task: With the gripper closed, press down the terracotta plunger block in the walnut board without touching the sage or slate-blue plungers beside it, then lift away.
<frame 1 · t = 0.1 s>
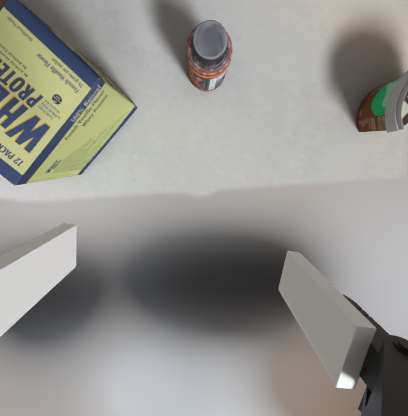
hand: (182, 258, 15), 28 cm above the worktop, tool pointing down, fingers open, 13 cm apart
protein box: (85, 119, 39), on the worktop
supplement bottle: (206, 72, 38), on the worktop
food container: (377, 100, 39), on the worktop
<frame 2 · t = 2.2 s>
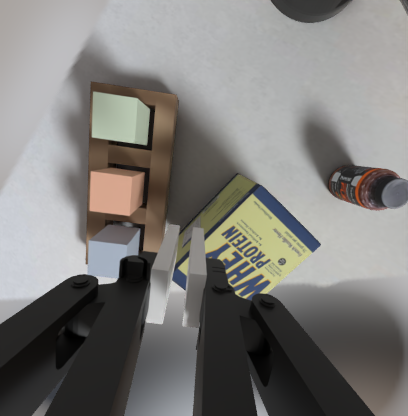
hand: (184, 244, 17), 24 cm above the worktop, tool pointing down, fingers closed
walnut board: (134, 182, 40), on the worktop
protein box: (227, 222, 42), on the worktop
supplement bottle: (343, 182, 41), on the worktop
plunger terracotta: (119, 189, 32), point 8 cm above the worktop, slide at 0.0 cm
plunger slate: (116, 249, 34), point 8 cm above the worktop, slide at 0.0 cm
plunger sage: (123, 122, 30), point 8 cm above the worktop, slide at 0.0 cm
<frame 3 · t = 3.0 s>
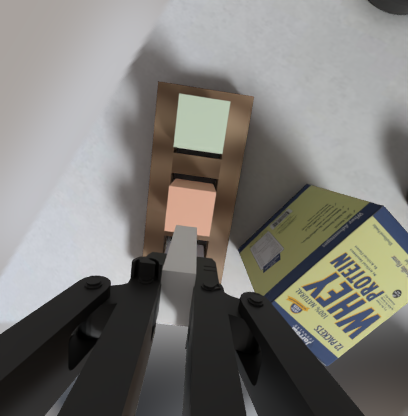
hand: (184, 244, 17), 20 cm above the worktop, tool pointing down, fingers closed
walnut board: (192, 193, 36), on the worktop
protein box: (291, 237, 38), on the worktop
plunger terracotta: (191, 204, 29), point 8 cm above the worktop, slide at 0.0 cm
plunger slate: (182, 271, 31), point 8 cm above the worktop, slide at 0.0 cm
plunger sage: (201, 128, 27), point 8 cm above the worktop, slide at 0.0 cm
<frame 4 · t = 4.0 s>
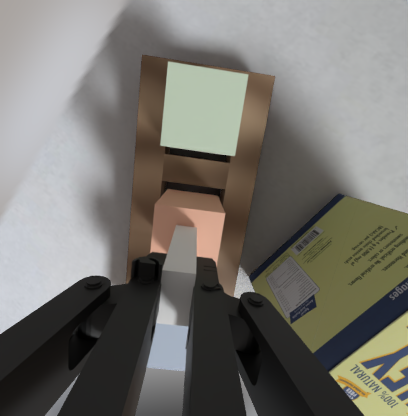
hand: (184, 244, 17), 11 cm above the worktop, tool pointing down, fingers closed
walnut board: (191, 206, 28), on the worktop
protein box: (317, 261, 30), on the worktop
plunger terracotta: (188, 227, 20), point 8 cm above the worktop, slide at 0.0 cm, touching gripper
plunger slate: (176, 315, 22), point 8 cm above the worktop, slide at 0.0 cm
plunger sage: (202, 118, 18), point 8 cm above the worktop, slide at 0.0 cm
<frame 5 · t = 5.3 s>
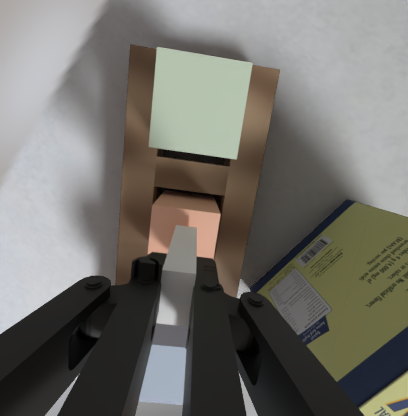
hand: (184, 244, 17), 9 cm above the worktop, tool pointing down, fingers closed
walnut board: (187, 214, 25), on the worktop
protein box: (323, 271, 28), on the worktop
plunger terracotta: (184, 227, 21), point 5 cm above the worktop, slide at 3.0 cm
plunger slate: (170, 337, 20), point 8 cm above the worktop, slide at 0.0 cm
plunger sage: (198, 116, 16), point 8 cm above the worktop, slide at 0.0 cm
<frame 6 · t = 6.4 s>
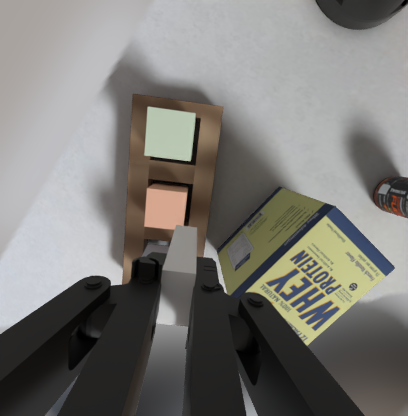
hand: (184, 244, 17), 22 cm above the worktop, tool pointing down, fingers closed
walnut board: (171, 198, 38), on the worktop
protein box: (267, 237, 40), on the worktop
supplement bottle: (388, 193, 39), on the worktop
plunger terracotta: (168, 204, 33), point 5 cm above the worktop, slide at 3.0 cm
plunger slate: (159, 272, 32), point 8 cm above the worktop, slide at 0.0 cm
plunger sage: (172, 137, 28), point 8 cm above the worktop, slide at 0.0 cm
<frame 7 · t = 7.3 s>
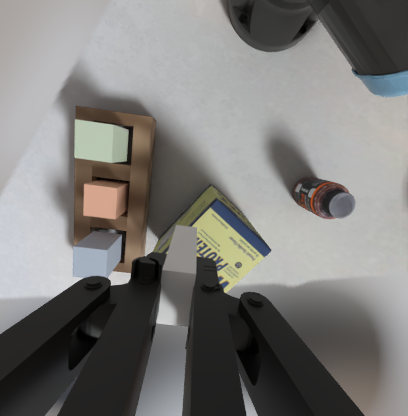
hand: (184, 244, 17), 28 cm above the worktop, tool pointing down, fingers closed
walnut board: (117, 193, 44), on the worktop
protein box: (202, 228, 47), on the worktop
supplement bottle: (306, 192, 45), on the worktop
plunger terracotta: (108, 197, 40), point 5 cm above the worktop, slide at 3.0 cm
plunger slate: (99, 253, 39), point 8 cm above the worktop, slide at 0.0 cm
plunger sage: (103, 142, 35), point 8 cm above the worktop, slide at 0.0 cm
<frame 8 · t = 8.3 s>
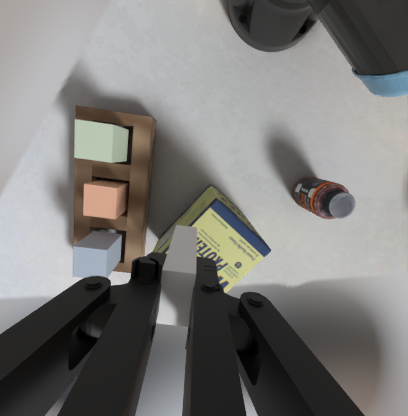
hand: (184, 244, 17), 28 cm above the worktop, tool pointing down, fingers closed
walnut board: (117, 193, 44), on the worktop
protein box: (202, 228, 47), on the worktop
supplement bottle: (306, 192, 45), on the worktop
plunger terracotta: (108, 197, 40), point 5 cm above the worktop, slide at 3.0 cm
plunger slate: (99, 253, 39), point 8 cm above the worktop, slide at 0.0 cm
plunger sage: (103, 142, 35), point 8 cm above the worktop, slide at 0.0 cm
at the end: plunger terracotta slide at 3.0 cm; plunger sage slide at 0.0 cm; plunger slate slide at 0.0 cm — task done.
